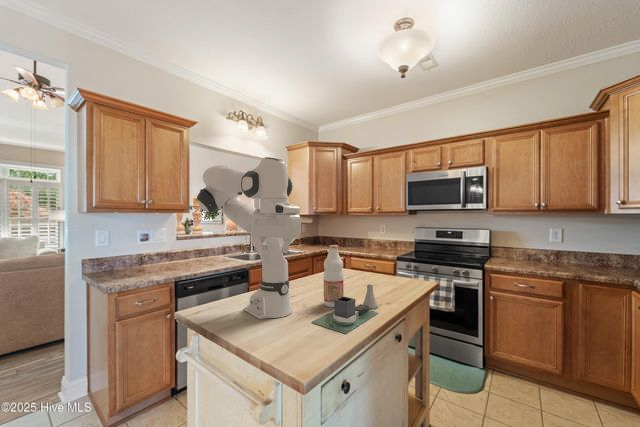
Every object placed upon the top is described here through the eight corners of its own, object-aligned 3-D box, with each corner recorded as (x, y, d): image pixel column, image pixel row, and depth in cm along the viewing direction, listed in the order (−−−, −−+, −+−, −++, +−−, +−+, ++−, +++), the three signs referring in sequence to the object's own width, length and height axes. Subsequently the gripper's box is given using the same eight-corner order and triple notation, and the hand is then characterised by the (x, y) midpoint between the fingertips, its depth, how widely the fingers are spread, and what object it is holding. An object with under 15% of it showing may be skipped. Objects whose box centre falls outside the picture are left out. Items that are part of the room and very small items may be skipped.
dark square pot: (334, 315, 107) (334, 299, 107) (342, 310, 112) (342, 296, 112) (347, 318, 104) (347, 302, 104) (355, 314, 108) (355, 298, 108)
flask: (378, 309, 122) (378, 287, 122) (361, 308, 123) (361, 286, 123) (377, 304, 129) (377, 283, 129) (362, 303, 130) (362, 282, 130)
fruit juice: (319, 303, 130) (319, 245, 130) (335, 300, 136) (335, 243, 136) (331, 309, 123) (331, 247, 123) (347, 305, 128) (347, 245, 128)
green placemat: (311, 323, 107) (311, 305, 107) (346, 306, 127) (346, 290, 127) (345, 334, 97) (345, 314, 97) (377, 313, 117) (377, 297, 117)
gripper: (246, 208, 91) (246, 250, 91) (289, 207, 78) (289, 255, 78) (261, 208, 96) (261, 248, 96) (304, 207, 83) (304, 253, 83)
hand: (274, 251), depth 87 cm, fingers open, 8 cm apart
